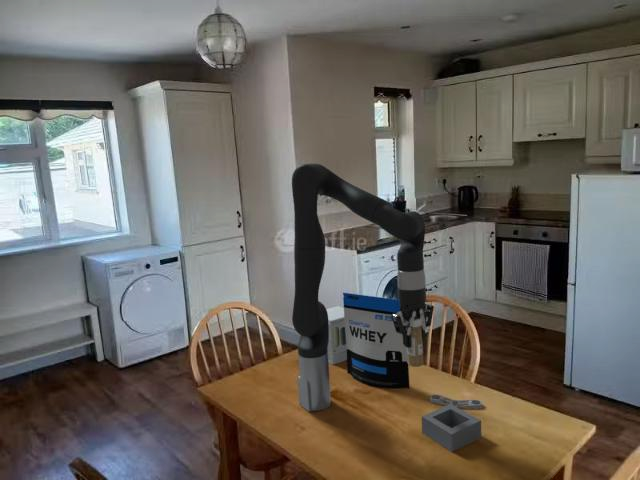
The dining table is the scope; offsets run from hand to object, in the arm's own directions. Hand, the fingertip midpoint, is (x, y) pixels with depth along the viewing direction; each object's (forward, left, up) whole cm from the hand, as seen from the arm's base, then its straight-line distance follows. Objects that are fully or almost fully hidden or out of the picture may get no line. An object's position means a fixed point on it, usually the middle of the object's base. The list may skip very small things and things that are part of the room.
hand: (414, 344), depth 135 cm
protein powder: (+8, +28, -24) cm, 38 cm away
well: (+3, -10, -24) cm, 26 cm away
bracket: (+17, +1, -24) cm, 30 cm away
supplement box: (+9, +55, -24) cm, 61 cm away
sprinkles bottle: (0, 0, -6) cm, 6 cm away
